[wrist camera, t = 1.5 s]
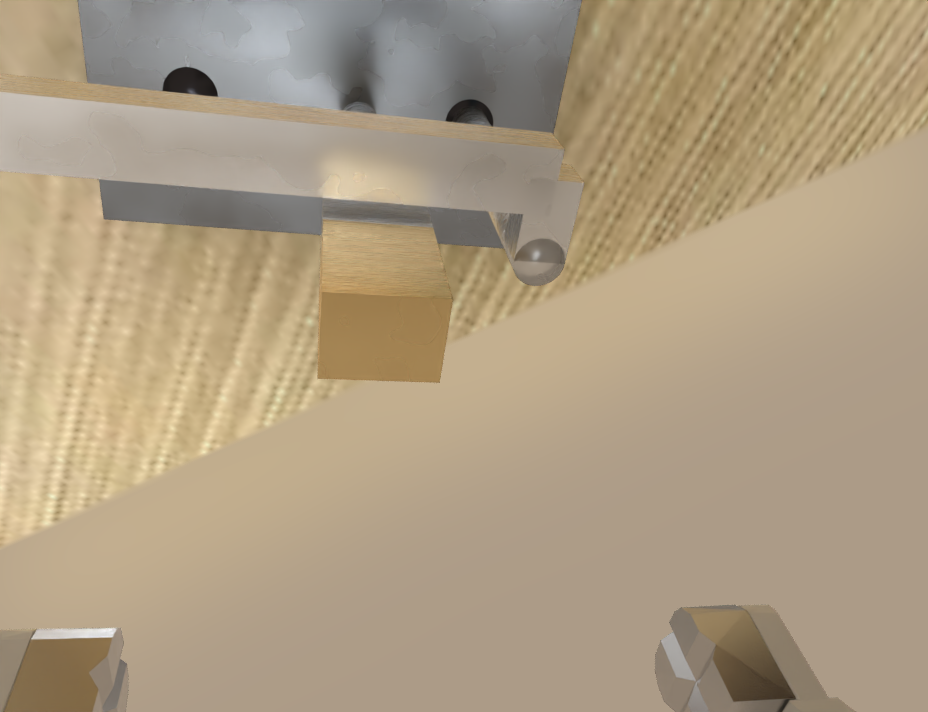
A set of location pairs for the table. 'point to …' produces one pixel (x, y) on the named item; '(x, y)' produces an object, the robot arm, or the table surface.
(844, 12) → the table surface
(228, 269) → the table surface
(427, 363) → the leg
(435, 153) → the divider frame
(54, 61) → the table surface
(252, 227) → the bolt plate
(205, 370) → the table surface
